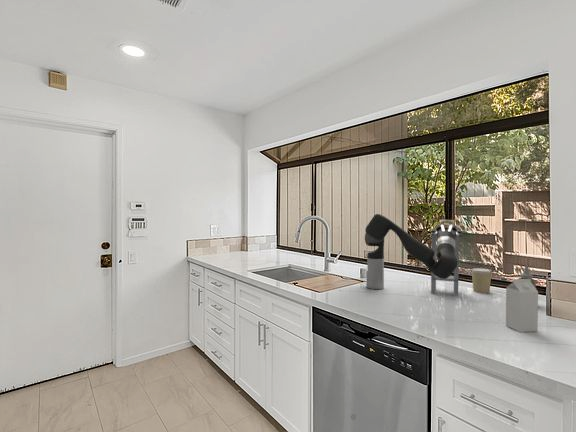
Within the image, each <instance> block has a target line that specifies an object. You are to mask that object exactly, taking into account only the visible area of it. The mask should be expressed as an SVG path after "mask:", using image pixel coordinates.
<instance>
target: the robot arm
mask: <svg viewBox="0 0 576 432" xmlns="http://www.w3.org/2000/svg"><path fill="white" fill-rule="evenodd" d="M364 230H365V233H364V234H365V235H364V242H365V245H367V247H368V246H369V247H377V248H376V249H375V250H372V251H369V252H367V261H366V263H367V267H366V268H367V270H366V273H365V274H366V280H365V281H366V282H365V283H366V285H365V286H366V287H365V288H367V289H371V290H383V289H385V270H384V269H385V265H384V264H385V256H384V255H385V251H384V250H385V237H386V236H387V234H388V233H389V231H392V232H393V233H394V234H395V235H396V236H397V237H398V238H399V240H400V242H401V244H402V247H404V250H405V251H406V252H407V254H409V256H411V257H413V258H414V259H416V260H418V261H420V263H422V264H424V266H425V267H426V268H427V269H428V270H429V271H430V272H432V273H433V274H434V275H436V276H437V277H439V278H442V279H446V278H448V277H449V276H452V274H453V273H454V270H455V269H456V267H457V265H458V261H457V258H456V256H455V238H456V236H458V235H459V236H460V237H462V236H463V231H462V230H461V228H460V227H458V226H457V225H455V226H453V225H452V222H451V221H449V228H444V221H443V222H441V225H440V224H437V225H436V226H435V227H434V228H432V229H431V233H430V234H431V235H436V236H437V237H436V258H437V259H438V260H436V261H435V260H434V259H433V257H434V254H435V252H434V250H433V249H431V247H430V246H428V245H426V244H424V243H423V242H422V241H419V240H418V239H417V238H415V237H414V236H412V235H410V234H409V233H408V232H407V231H406V230H404V229H403V228H401V227H400V226H399V225H397V224H396V223H395V222H393V221H392V220H391V219H390V218H388V217H386V216H385V215H382V214H380V213H375V214H374V215H373V217H371V219H370V221H369V222H368V224H367V225H366V227H365V229H364Z"/></svg>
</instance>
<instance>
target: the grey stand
mask: <svg viewBox="0 0 576 432" xmlns="http://www.w3.org/2000/svg"><path fill="white" fill-rule="evenodd" d="M429 237H431V242H430V243H431V247H430V248H431V249H433V250H434V252H435V254H434V257H433V259H434V260H435V261H436V262H437V236H436V235H431V233H430V236H429ZM460 239H461V236H459V235H458V236H456V238H455V256H456V258H457V261H458V265H457V267H456V269H455V270H454V271H453V275H450V276H449V277H448V278H446V279H442V278H439V277H437V276H436V275H434V274H433V273H432V272H431V271H430V272H431V273H430V290H431V291H430V294H436V290H437V281H445V282H453V296H454V297H459V273H460V272H459V270H460V269H459V267H460V266H459V265H460V263H459V261H460V259H459V254H460V253H459V251H460V249H459V248H460V247H459V246H460V245H459V244H460V243H459V241H460Z"/></svg>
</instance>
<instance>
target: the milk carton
mask: <svg viewBox="0 0 576 432" xmlns="http://www.w3.org/2000/svg"><path fill="white" fill-rule="evenodd" d="M535 287H536V286H535ZM535 287H534V285H533V284H532V283H531V279H519V278H517V279H512V282H511V283H510V284H509V285H507V286H506V290H505V326H507V327H509V328H511V329H513V330H514V331H517V332H519V333H528V332H538V330H539V329H538V326H539V323H538V322H539V291H538V290H537V287H536V288H535Z"/></svg>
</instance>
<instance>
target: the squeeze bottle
mask: <svg viewBox="0 0 576 432" xmlns="http://www.w3.org/2000/svg"><path fill="white" fill-rule="evenodd" d="M519 275H520V277H518V279H531V283H532V284H533V285H534V287H535V288H536V289H537V287H536V282H535V279H534V278H533V274H531V273H530V269H529V267H528V266H524V268H523V272H522V273H520V274H519Z"/></svg>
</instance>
